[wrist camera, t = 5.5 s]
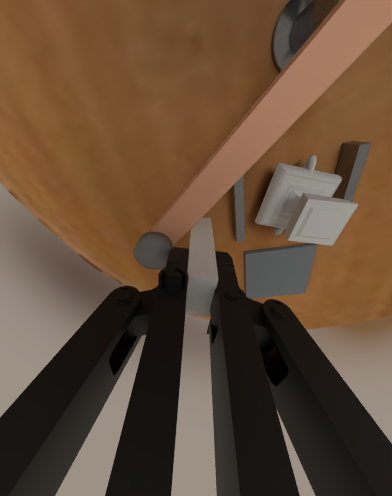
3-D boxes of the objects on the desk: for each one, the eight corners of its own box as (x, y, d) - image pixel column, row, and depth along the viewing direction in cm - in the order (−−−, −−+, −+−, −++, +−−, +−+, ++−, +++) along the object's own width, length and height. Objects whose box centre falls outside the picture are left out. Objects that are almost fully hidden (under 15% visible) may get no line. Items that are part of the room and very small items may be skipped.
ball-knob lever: (505, -255, 5) (733, -537, 3) (518, -91, 6) (679, -201, 4) (130, 232, 14) (118, 251, 11) (169, 257, 15) (164, 278, 13)
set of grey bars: (221, 12, 14) (252, -141, 6) (402, -36, 13) (753, -315, 5) (233, 232, 25) (250, 283, 17) (331, 219, 24) (399, 266, 16)
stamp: (292, 229, 25) (330, 270, 18) (246, 222, 24) (266, 261, 17) (331, 158, 20) (404, 175, 13) (273, 146, 19) (317, 158, 12)
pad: (244, 251, 27) (245, 254, 26) (314, 242, 26) (317, 244, 25) (245, 296, 32) (246, 299, 32) (303, 290, 31) (305, 292, 31)
